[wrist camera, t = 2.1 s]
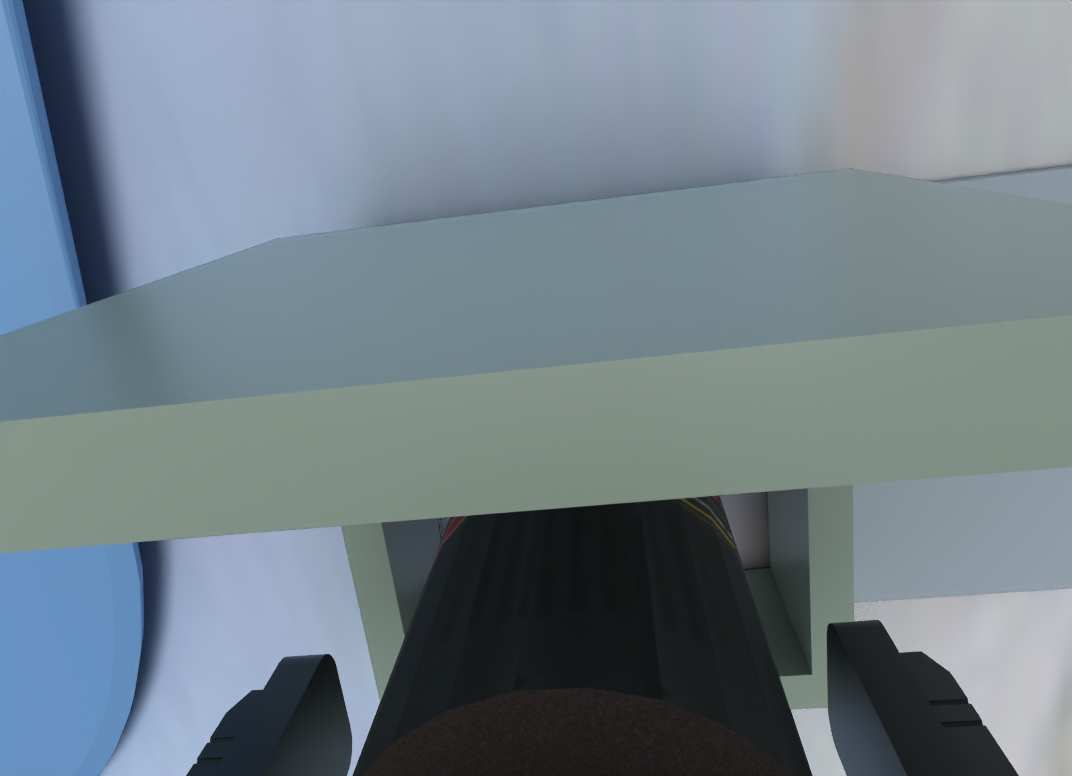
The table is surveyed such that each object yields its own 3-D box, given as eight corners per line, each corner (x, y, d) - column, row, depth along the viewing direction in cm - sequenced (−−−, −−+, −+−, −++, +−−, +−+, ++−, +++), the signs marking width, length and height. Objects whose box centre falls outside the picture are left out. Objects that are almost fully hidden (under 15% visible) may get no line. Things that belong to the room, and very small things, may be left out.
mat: (813, 195, 21) (819, 197, 20) (1315, 136, 20) (1336, 136, 19) (821, 593, 24) (826, 604, 24) (1244, 564, 23) (1261, 575, 23)
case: (346, 214, 22) (-350, 456, 6) (824, 155, 21) (1652, 256, 4) (425, 619, 26) (140, 1435, 10) (831, 592, 24) (1283, 1492, 8)
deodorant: (709, 500, 24) (877, 1054, 10) (518, 537, 25) (411, 1095, 10) (670, 311, 22) (802, 643, 8) (466, 358, 23) (254, 733, 9)
